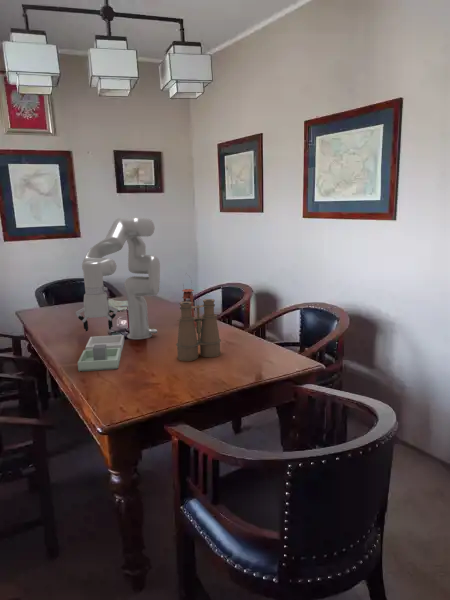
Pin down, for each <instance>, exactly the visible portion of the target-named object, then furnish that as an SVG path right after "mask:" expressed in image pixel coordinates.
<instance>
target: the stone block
mask: <svg viewBox="0 0 450 600" xmlns="http://www.w3.org/2000/svg"><path fill="white" fill-rule="evenodd" d="M93 358H94V361H97V360H108V359H107V347H106V344H101V345H94V347H93Z"/></svg>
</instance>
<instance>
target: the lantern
mask: <svg viewBox="0 0 450 600" xmlns="http://www.w3.org/2000/svg"><path fill="white" fill-rule="evenodd" d="M186 275H187V276H189V278H190V282H191V284H193V281H192V277H191V276H190V275H188V273H186ZM182 286H183V289H182V290H181V291H182V292H183V294H182V295H183V296H182V299H183V302H185V301H187V300H189V302H192V304H191V306H194V304H196V302H194V298H195V297H194V294H193V292H194V291H195V290H194V289H193V288H185V287H184V284H182ZM195 309H196V308H192V309H191V316H192V317H196V315H195V311H196V310H195ZM194 325H195V328H196V327H197V322H195V320H194Z"/></svg>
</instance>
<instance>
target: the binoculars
mask: <svg viewBox="0 0 450 600" xmlns="http://www.w3.org/2000/svg"><path fill="white" fill-rule="evenodd" d="M202 302H203V304H201V305H198V304H197V305H195V306H191V304H192V302H190V300H189V301H187V300H186V301H185V302H184V301H180V302H179V305H180V307H179V310H180V314H181V315H180V316H181V317H179V318H178V320H177V321H178V333H177V343H176V344H175V345H176V347H177V359H178V360H179V361H183V362H190V361H195V360H197V359H199V355H200V356H202V357H203V358H204V357H205V358H214V357H218V356H220V355H221V342H222V340H221V338H220V333H219V327H218V322H217V321H218V319H217V317H218V316H219V315H218V314H215V306H216V304H215V299H214V298H206V299H205V298H204V299H202ZM192 308H194V309H196V312H197V313H196V314H197V316H195V317H192V316H191V315H192V312H191V309H192ZM200 308H203V314H202V315H201V316H200ZM194 320H195V322H197V327H195V325H194ZM199 349H200V350H199ZM199 351H200V352H199Z"/></svg>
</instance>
